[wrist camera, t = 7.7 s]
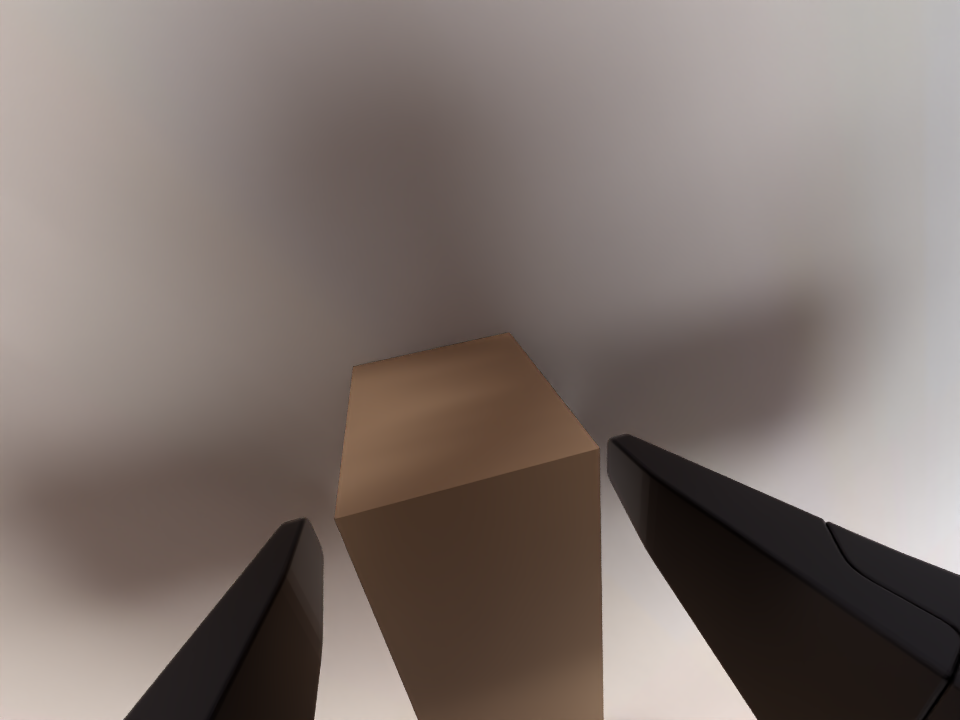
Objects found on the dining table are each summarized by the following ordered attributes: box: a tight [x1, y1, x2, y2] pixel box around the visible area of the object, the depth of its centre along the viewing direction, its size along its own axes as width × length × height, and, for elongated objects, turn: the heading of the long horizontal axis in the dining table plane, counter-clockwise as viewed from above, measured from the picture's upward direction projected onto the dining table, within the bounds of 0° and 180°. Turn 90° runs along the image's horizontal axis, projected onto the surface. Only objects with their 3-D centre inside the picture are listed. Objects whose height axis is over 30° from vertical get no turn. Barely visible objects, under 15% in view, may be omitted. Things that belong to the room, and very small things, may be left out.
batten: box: [334, 332, 604, 720], centre depth 10 cm, size 3×18×4 cm, turn 8°
